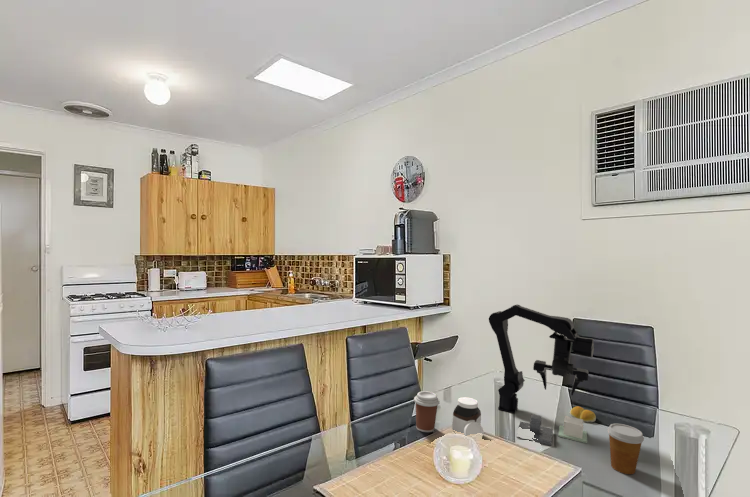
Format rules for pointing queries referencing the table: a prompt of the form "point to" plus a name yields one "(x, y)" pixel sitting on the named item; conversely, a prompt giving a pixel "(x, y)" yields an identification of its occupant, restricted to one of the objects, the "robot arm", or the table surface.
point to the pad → (561, 431)
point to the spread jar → (467, 417)
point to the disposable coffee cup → (624, 447)
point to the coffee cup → (426, 410)
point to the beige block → (573, 427)
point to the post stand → (538, 430)
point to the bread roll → (582, 414)
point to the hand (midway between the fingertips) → (558, 392)
